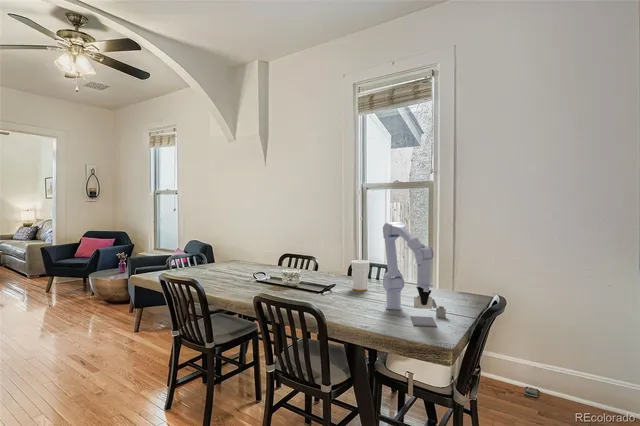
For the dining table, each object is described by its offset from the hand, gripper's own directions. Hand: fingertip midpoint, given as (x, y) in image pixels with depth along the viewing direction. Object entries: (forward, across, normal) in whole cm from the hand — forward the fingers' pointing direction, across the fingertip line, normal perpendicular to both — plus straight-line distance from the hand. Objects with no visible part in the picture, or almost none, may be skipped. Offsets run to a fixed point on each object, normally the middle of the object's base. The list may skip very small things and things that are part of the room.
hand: (423, 303), depth 157 cm
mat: (+8, 0, 0) cm, 8 cm away
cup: (+9, +55, +30) cm, 63 cm away
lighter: (+9, +9, -8) cm, 15 cm away
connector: (+2, 0, 0) cm, 2 cm away
